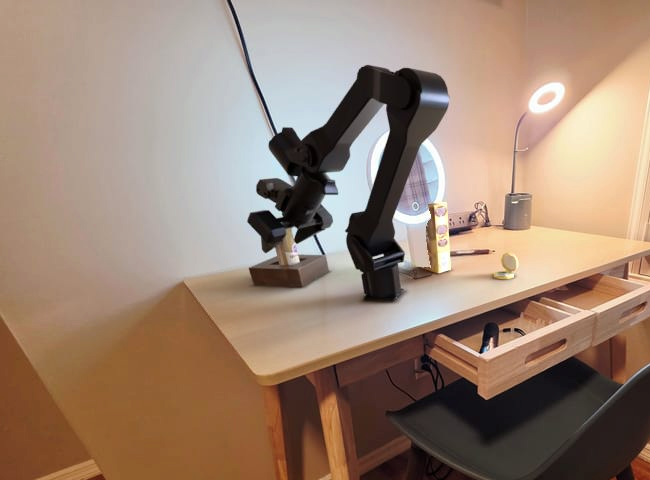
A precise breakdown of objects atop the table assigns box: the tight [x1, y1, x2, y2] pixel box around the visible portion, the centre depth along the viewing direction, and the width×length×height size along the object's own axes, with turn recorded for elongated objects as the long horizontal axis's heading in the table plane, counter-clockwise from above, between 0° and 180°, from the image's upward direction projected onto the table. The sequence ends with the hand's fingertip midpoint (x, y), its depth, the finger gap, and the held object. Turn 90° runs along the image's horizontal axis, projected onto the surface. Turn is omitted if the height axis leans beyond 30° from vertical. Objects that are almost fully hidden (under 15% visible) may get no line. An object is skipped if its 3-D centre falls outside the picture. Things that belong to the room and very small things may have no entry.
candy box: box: [422, 201, 451, 274], centre depth 88 cm, size 9×4×15 cm, turn 44°
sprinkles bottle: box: [274, 216, 300, 265], centre depth 84 cm, size 5×5×13 cm
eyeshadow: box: [493, 252, 519, 280], centre depth 84 cm, size 4×5×5 cm
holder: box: [248, 254, 330, 288], centre depth 86 cm, size 12×12×4 cm
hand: (280, 246), depth 84 cm, fingers open, 9 cm apart
